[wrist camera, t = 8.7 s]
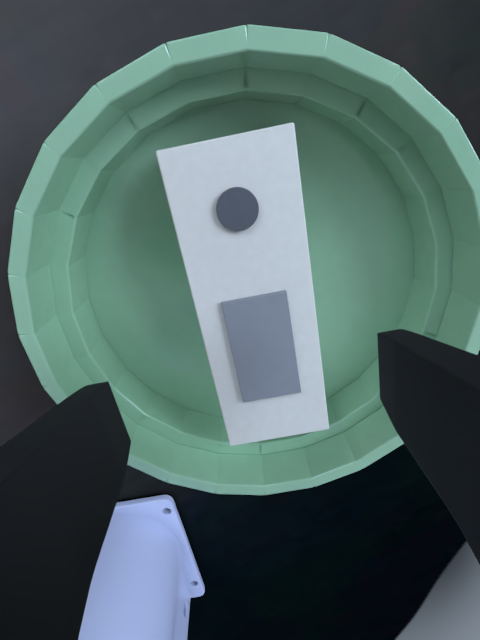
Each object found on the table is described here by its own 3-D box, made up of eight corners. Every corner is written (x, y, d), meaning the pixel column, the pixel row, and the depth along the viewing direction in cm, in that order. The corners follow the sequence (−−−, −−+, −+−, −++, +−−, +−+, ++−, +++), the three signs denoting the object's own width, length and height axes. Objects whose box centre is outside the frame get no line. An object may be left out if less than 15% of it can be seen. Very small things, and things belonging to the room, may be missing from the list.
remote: (313, 386, 19) (331, 432, 16) (229, 400, 19) (230, 449, 16) (279, 130, 14) (295, 120, 11) (170, 153, 15) (153, 150, 11)
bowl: (430, 400, 20) (482, 460, 16) (129, 451, 21) (105, 522, 17) (438, 21, 14) (529, -40, 10) (-3, 117, 14) (-96, 99, 10)
